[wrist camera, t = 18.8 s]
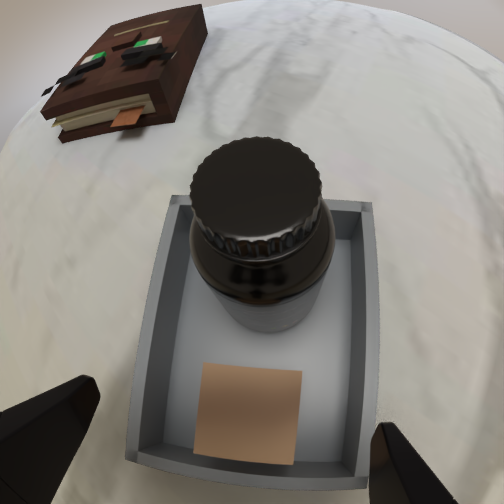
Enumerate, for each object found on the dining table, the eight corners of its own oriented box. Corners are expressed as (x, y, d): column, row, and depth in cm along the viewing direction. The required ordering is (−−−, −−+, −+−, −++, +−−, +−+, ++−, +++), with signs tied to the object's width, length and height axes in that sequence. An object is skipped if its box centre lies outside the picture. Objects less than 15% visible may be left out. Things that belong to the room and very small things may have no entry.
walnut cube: (290, 446, 17) (293, 464, 12) (214, 438, 17) (193, 453, 13) (297, 374, 19) (302, 370, 14) (221, 368, 19) (203, 362, 15)
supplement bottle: (210, 260, 23) (153, 145, 12) (297, 232, 23) (304, 103, 12) (236, 349, 20) (181, 298, 9) (332, 316, 20) (386, 230, 9)
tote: (348, 467, 16) (366, 488, 12) (156, 447, 18) (125, 459, 13) (356, 237, 24) (371, 202, 19) (190, 229, 25) (171, 195, 21)
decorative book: (210, -5, 37) (161, 82, 24) (216, 29, 43) (181, 137, 31) (109, 19, 39) (22, 122, 26) (121, 48, 45) (51, 159, 33)
